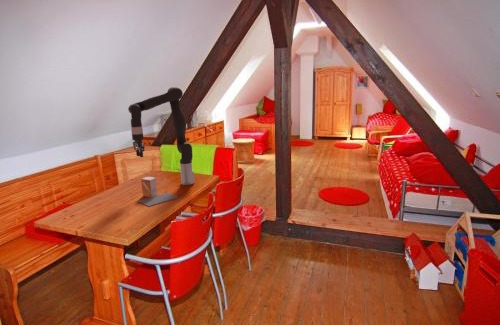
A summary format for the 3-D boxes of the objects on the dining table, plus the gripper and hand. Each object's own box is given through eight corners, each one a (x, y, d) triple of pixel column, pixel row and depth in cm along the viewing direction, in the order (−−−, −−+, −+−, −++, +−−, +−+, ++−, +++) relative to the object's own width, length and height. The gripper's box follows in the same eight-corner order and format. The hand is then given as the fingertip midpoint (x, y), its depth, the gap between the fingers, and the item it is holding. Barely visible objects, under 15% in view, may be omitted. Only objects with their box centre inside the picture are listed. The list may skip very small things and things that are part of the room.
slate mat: (167, 193, 223) (167, 192, 222) (178, 197, 213) (178, 197, 213) (139, 201, 208) (138, 200, 208) (148, 206, 198) (148, 206, 198)
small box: (142, 196, 218) (140, 178, 215) (148, 193, 223) (147, 176, 220) (151, 197, 215) (150, 180, 211) (157, 194, 220) (156, 177, 217)
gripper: (147, 133, 213) (149, 157, 217) (137, 131, 223) (140, 154, 227) (136, 134, 208) (139, 159, 212) (127, 132, 218) (130, 156, 222)
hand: (139, 156), depth 219 cm, fingers open, 4 cm apart
